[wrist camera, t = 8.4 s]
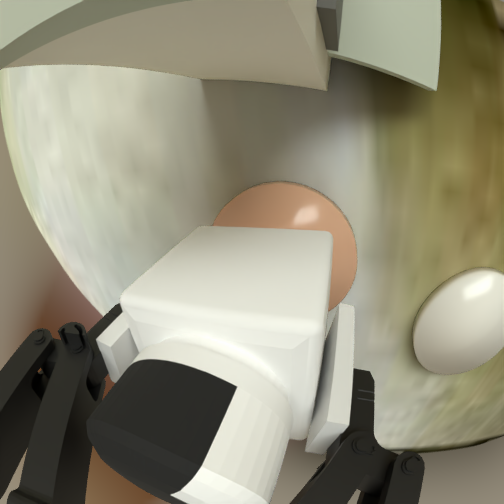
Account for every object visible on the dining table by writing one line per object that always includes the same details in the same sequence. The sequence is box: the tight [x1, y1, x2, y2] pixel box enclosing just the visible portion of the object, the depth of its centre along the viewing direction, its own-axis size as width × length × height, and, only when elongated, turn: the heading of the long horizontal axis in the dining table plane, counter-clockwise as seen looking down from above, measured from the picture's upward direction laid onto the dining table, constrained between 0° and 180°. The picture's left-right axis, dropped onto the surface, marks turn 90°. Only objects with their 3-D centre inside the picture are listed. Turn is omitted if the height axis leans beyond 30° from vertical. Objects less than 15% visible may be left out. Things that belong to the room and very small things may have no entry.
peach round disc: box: [213, 181, 357, 312], centre depth 19 cm, size 10×10×1 cm
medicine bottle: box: [86, 226, 333, 504], centre depth 11 cm, size 7×7×12 cm
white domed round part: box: [412, 267, 504, 375], centre depth 17 cm, size 10×10×1 cm
